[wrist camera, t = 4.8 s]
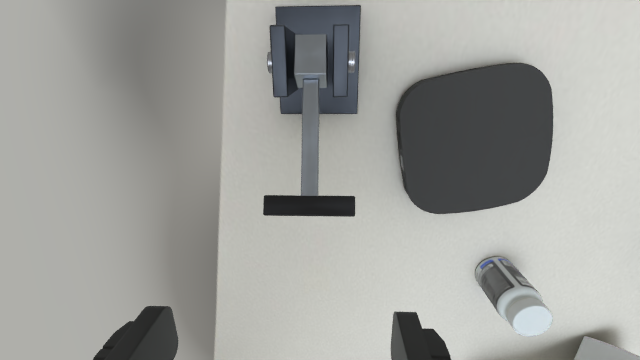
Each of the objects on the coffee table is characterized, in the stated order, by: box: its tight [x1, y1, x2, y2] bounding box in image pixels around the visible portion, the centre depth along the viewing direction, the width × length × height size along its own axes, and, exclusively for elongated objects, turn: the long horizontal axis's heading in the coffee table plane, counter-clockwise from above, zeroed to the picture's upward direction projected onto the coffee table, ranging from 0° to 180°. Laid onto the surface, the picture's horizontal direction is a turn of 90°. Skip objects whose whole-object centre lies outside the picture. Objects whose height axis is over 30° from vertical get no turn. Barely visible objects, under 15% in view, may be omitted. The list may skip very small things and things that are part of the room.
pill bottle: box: [475, 257, 553, 336], centre depth 36 cm, size 5×5×8 cm
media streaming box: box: [396, 63, 553, 214], centre depth 33 cm, size 15×15×3 cm
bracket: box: [267, 5, 361, 114], centre depth 26 cm, size 10×8×13 cm
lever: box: [263, 34, 355, 216], centre depth 22 cm, size 12×6×2 cm, turn 1°
